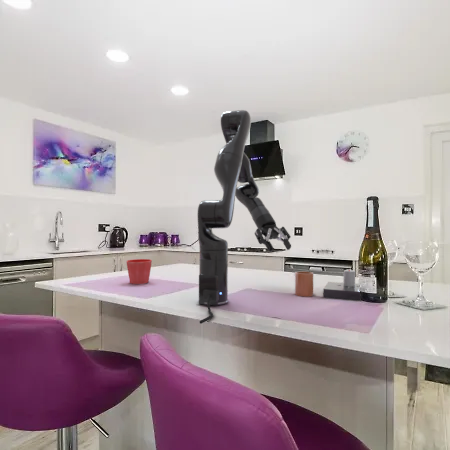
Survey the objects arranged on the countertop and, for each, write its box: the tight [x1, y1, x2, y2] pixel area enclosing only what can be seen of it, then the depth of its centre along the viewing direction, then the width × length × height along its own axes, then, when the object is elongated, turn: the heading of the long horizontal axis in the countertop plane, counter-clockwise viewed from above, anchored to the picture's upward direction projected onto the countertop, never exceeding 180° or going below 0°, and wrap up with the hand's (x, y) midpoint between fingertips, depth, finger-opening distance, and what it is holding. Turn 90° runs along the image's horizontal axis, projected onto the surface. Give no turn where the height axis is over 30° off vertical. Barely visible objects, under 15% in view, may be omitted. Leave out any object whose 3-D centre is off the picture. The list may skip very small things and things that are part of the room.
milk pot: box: [294, 270, 314, 298], centre depth 120 cm, size 6×6×8 cm
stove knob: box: [343, 268, 356, 287], centre depth 121 cm, size 4×4×6 cm
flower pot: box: [126, 258, 153, 285], centre depth 144 cm, size 11×11×10 cm
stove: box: [322, 281, 362, 302], centre depth 120 cm, size 16×12×3 cm
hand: (280, 249), depth 128 cm, fingers open, 8 cm apart
